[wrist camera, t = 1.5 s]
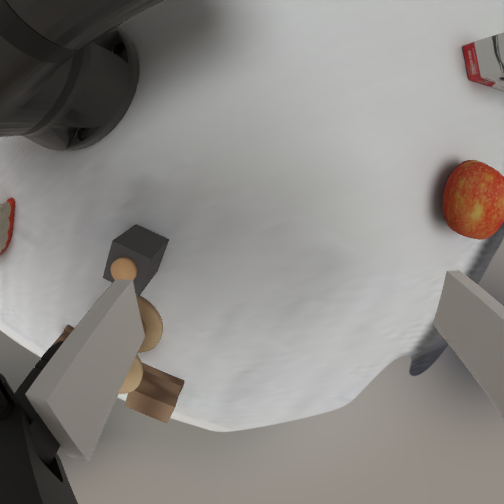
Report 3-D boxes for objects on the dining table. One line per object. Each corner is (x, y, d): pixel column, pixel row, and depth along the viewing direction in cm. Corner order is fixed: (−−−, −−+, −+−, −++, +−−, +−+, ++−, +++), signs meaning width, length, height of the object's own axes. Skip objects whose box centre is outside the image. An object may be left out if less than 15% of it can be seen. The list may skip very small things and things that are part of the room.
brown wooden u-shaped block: (66, 344, 36) (49, 365, 32) (68, 324, 35) (49, 345, 30) (176, 397, 39) (168, 423, 34) (184, 380, 38) (176, 408, 33)
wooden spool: (99, 330, 35) (69, 371, 27) (110, 281, 33) (75, 319, 25) (153, 356, 36) (133, 403, 28) (170, 310, 34) (148, 356, 26)
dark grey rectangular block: (126, 256, 32) (99, 281, 25) (136, 224, 31) (108, 243, 24) (157, 270, 32) (136, 299, 26) (169, 239, 31) (148, 262, 25)
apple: (486, 181, 28) (529, 193, 21) (461, 239, 31) (500, 262, 23) (447, 146, 27) (491, 150, 20) (418, 210, 30) (459, 229, 22)
